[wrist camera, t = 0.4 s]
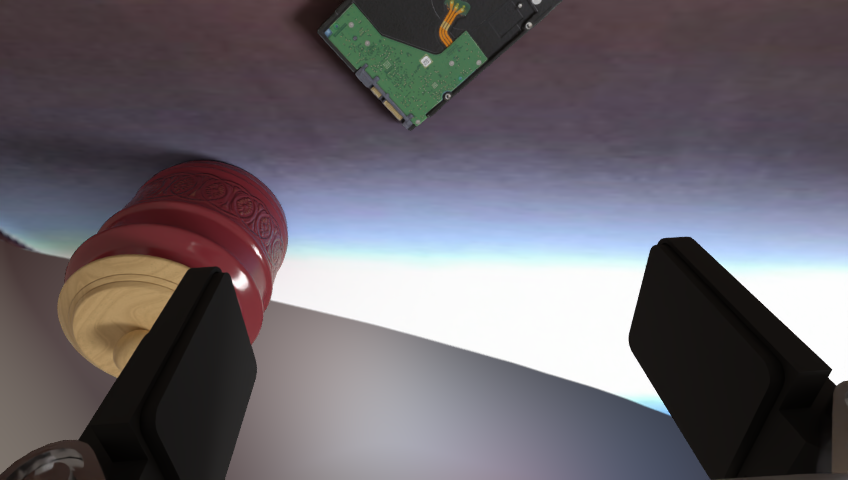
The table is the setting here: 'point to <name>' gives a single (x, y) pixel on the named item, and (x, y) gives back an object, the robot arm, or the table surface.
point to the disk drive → (425, 46)
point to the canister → (171, 256)
